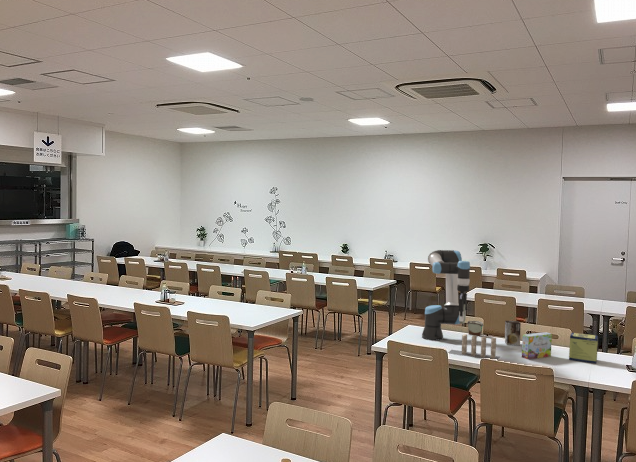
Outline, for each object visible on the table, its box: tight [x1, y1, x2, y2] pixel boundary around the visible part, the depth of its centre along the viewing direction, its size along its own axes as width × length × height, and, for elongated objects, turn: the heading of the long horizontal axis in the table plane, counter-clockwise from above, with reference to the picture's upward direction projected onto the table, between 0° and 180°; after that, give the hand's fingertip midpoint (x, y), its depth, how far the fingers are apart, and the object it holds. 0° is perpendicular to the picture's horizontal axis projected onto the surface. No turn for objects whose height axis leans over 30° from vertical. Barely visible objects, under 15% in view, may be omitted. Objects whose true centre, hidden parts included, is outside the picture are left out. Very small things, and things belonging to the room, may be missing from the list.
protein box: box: [568, 332, 599, 365], centre depth 331 cm, size 10×16×16 cm
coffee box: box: [504, 320, 521, 346], centre depth 368 cm, size 9×6×16 cm
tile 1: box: [490, 337, 497, 359], centre depth 330 cm, size 2×5×12 cm, turn 151°
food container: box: [466, 320, 484, 338], centre depth 395 cm, size 12×6×10 cm, turn 47°
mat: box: [447, 349, 501, 361], centre depth 336 cm, size 31×11×1 cm, turn 61°
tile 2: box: [480, 336, 487, 357], centre depth 333 cm, size 2×5×12 cm, turn 151°
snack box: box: [521, 331, 553, 360], centre depth 335 cm, size 21×6×15 cm, turn 117°
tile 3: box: [470, 335, 478, 356], centre depth 336 cm, size 2×5×12 cm, turn 150°
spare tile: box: [460, 304, 466, 324], centre depth 343 cm, size 2×5×12 cm, turn 152°
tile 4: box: [461, 333, 468, 355], centre depth 338 cm, size 2×5×12 cm, turn 151°
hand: (462, 320), depth 343 cm, fingers closed on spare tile, 5 cm apart
